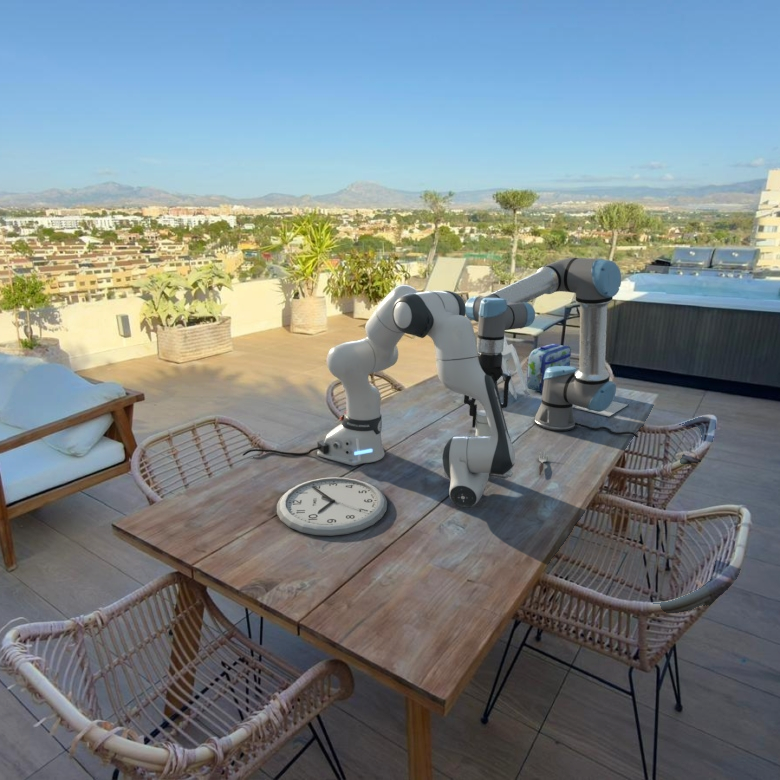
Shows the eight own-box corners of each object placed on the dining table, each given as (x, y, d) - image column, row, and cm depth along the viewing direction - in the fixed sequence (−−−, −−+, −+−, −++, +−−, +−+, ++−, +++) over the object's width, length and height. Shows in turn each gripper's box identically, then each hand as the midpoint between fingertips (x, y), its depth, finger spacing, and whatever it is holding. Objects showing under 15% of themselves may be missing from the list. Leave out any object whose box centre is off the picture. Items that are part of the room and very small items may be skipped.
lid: (472, 418, 159) (472, 411, 158) (486, 415, 161) (487, 409, 160) (482, 423, 154) (482, 417, 153) (497, 421, 156) (497, 414, 156)
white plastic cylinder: (485, 469, 165) (489, 412, 160) (490, 476, 161) (495, 417, 155) (470, 470, 165) (474, 413, 159) (475, 477, 160) (480, 418, 154)
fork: (535, 475, 162) (535, 469, 161) (539, 455, 176) (540, 450, 175) (543, 477, 161) (544, 471, 160) (547, 456, 175) (548, 451, 175)
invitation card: (608, 416, 214) (573, 407, 224) (608, 416, 214) (573, 408, 224) (628, 404, 229) (594, 396, 238) (628, 405, 229) (594, 397, 238)
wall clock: (392, 527, 129) (268, 531, 127) (391, 533, 130) (269, 537, 127) (383, 473, 158) (282, 475, 155) (383, 478, 158) (282, 480, 156)
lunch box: (542, 396, 239) (547, 351, 232) (522, 391, 246) (526, 347, 240) (570, 385, 256) (575, 343, 250) (550, 380, 263) (554, 339, 257)
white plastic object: (461, 429, 252) (437, 405, 227) (444, 352, 274) (420, 323, 250) (535, 404, 240) (518, 377, 215) (510, 326, 262) (492, 293, 237)
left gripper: (512, 467, 145) (517, 448, 157) (440, 456, 151) (450, 439, 164) (510, 488, 147) (515, 467, 159) (439, 476, 153) (449, 457, 166)
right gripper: (522, 351, 152) (515, 426, 159) (459, 347, 157) (455, 419, 164) (521, 357, 145) (514, 435, 152) (456, 352, 150) (451, 428, 157)
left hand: (482, 453), depth 162 cm, fingers closed on white plastic cylinder, 5 cm apart
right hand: (483, 427), depth 158 cm, fingers open, 5 cm apart
